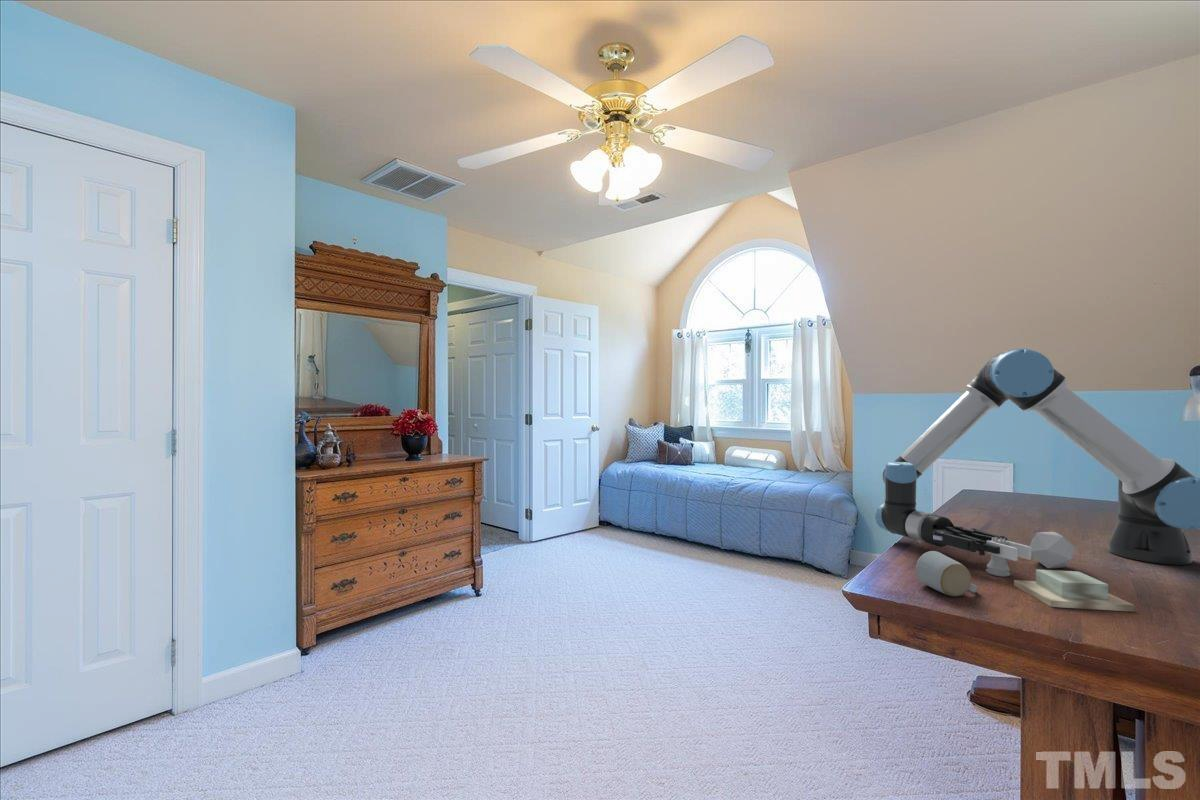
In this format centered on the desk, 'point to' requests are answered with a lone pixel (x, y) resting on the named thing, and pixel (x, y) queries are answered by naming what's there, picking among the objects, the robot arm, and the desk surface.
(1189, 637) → the desk surface
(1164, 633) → the desk surface
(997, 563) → the rook chess piece
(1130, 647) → the desk surface
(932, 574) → the ceramic mug
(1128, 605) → the plinth
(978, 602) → the desk surface
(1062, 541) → the die
